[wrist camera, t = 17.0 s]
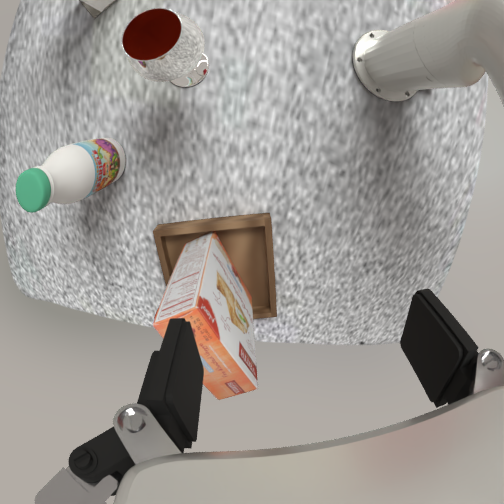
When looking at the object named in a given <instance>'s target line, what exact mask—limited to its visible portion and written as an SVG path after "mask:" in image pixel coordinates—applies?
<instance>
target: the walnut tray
mask: <svg viewBox="0 0 504 504" xmlns="http://www.w3.org/2000/svg"><path fill="white" fill-rule="evenodd" d="M212 231H215V232H216V234H217V236H218V237H219V239H220V241H221V243H222V245H223V246H224V248H225V250H226V252H227V254H228V256H229V257H230V259H231V261H232V263H233V265H234V266H235V268H236V270H237V272H238V274H239V275H240V277H241V279H242V281H243V283H244V284H245V286H246V288H247V290H248V292H249V293H250V295H251V297H252V311H253V319H258V318H268V317H277V308H276V289H275V272H274V255H273V239H272V224H271V217H270V213H260V214H250V215H239V216H229V217H219V218H210V219H201V220H192V221H183V222H175V223H167V224H159V225H157V227H156V228H155V229H154V231H153V234H154V238H155V243H156V247H157V251H158V255H159V259H160V263H161V267H162V271H163V275H164V279H165V283H166V286H167V285H168V282H169V280H170V277H171V275H172V273H173V270H174V268H175V265H176V263H177V261H178V258H179V256H180V254H181V252H182V249H183V247H184V245H185V244H186V243H188V242H190V241H192V240H194V239H197V238H199V237H201V236H203V235H205V234H207V233H209V232H212Z"/></svg>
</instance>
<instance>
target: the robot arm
mask: <svg viewBox="0 0 504 504" xmlns="http://www.w3.org/2000/svg"><path fill="white" fill-rule="evenodd" d="M370 36H371V37H370ZM352 56H353V64H354V68H355V71H356V73H357V76H358V77H359V79H360V81H361V82H362V83H363V85H364V86H365V87H366V88H367V89H368V90H369V91H370V92H372V93H373V94H374V95H376V96H378V97H379V98H382V99H384V100H388V101H403V100H406V99H409V98H410V97H412V96H413V95H414V94H415V93H416V92H417V90H424V89H438V88H457V87H468V86H471V85H473V84H475V83H477V82H478V81H479V80H480V79H481V78H482V76H483V75H484V73H485V72H487V74H488V76H489V78H490V79H491V81H492V83H493V85H494V87H495V88H496V90H497V93H498V95H499V97H500V99H501V101H502V104H503V106H504V0H455V1H453V2H451V3H450V4H448V5H446V6H444V7H442V8H440V9H438V10H435V11H433V12H431V13H429V14H426V15H424V16H422V17H420V18H417V19H415V20H413V21H411V22H409V23H406V24H404V25H402V26H400V27H398V28H396V29H394V30H392V31H390V32H389V31H386V30H373V31H370V32H367V33H365V34H364V35H362V36H361V37H360V38H359V39H358V40H357V42H356V43H355V46H354V49H353V55H352ZM357 60H358V61H359V62H358V61H357ZM376 89H377V91H376ZM405 94H406V95H405ZM400 344H401V348H402V350H403V351H404V353H405V355H406V357H407V358H408V360H409V362H410V364H411V365H412V367H413V369H414V371H415V373H416V375H417V377H418V378H419V380H420V382H421V384H422V386H423V388H424V390H425V392H426V394H427V395H428V397H429V399H430V401H431V402H434V404H435V406H436V407H439V406H442V405H444V404H446V403H448V405H447V406H444V407H442V408H439V409H437V410H434V411H432V412H429V413H426V414H424V415H421V416H418V417H415V418H412V419H409V420H406V421H403V422H400V423H397V424H394V425H390V426H387V427H384V428H380V429H377V430H373V431H369V432H365V433H361V434H358V435H353V436H348V437H344V438H339V439H334V440H329V441H323V442H318V443H312V444H305V445H298V446H291V447H283V448H273V449H260V450H248V451H227V452H196V453H195V452H194V453H183V452H184V448H191V446H192V441H194V442H195V441H196V440H197V431H198V421H199V412H200V402H201V394H202V385H203V377H204V368H203V364H202V361H201V358H200V354H199V351H198V347H197V344H196V341H195V337H194V334H193V330H192V327H191V323H190V321H186V320H185V318H171V319H170V320H169V323H168V326H167V329H166V332H165V336H164V339H163V343H162V345H161V349H160V351H154V352H153V353H152V356H151V359H150V362H149V365H148V369H147V372H146V375H145V378H144V382H143V385H142V388H141V392H140V395H139V399H138V402H137V404H128V405H126V406H123V407H122V408H121V409H119V410H118V411H117V413H116V414H115V416H114V419H113V425H114V427H112V428H110V429H109V430H107V431H105V432H104V433H102V434H100V435H99V436H97V437H95V438H93V439H92V440H90V441H88V442H86V443H84V444H83V445H81V446H79V447H77V448H76V449H75V450H73V452H72V453H71V454H70V457H69V466H68V467H67V469H65V468H62V469H61V470H60V471H59V472H58V473H57V474H56V475H55V476H54V477H53V478H52V479H51V480H50V481H49V482H48V483H47V484H46V485H45V486H44V487H43V488H42V489H41V490H40V491H39V492H38V494H37V495H36V497H35V504H106V502H105V501H106V500H107V499H108V498H109V497H110V496H114V495H116V496H115V500H114V504H504V360H503V357H502V356H501V355H500V354H499V353H498V352H497V351H495V350H492V349H484V350H482V351H481V352H480V353H478V352H477V349H478V346H477V345H476V344H475V342H474V341H473V340H472V339H471V337H470V336H469V335H468V334H467V332H466V331H465V330H464V329H463V327H462V326H461V325H460V324H459V322H458V321H457V320H456V319H455V318H454V316H453V315H452V314H451V313H450V312H449V310H448V309H447V308H446V307H445V306H444V305H443V304H442V303H441V301H440V300H439V299H438V298H437V297H436V296H435V294H434V293H433V292H432V291H431V290H430V289H424V290H419V291H417V292H416V293H415V295H413V297H412V301H411V305H410V309H409V313H408V316H407V320H406V324H405V327H404V331H403V334H402V337H401V341H400Z"/></svg>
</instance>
